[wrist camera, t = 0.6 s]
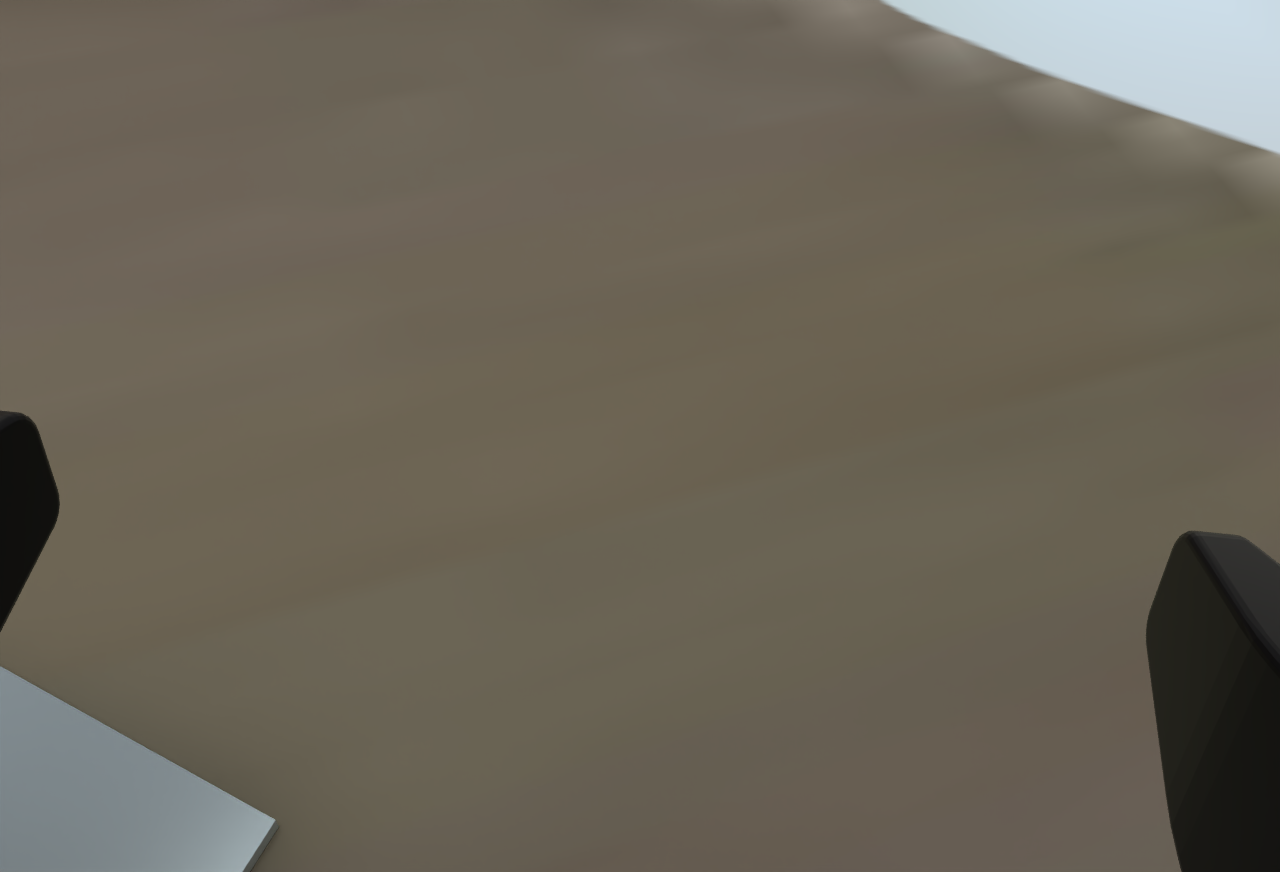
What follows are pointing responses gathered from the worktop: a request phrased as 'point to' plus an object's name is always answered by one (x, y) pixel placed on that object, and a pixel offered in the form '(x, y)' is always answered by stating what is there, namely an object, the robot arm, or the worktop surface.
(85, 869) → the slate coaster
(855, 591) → the worktop surface
